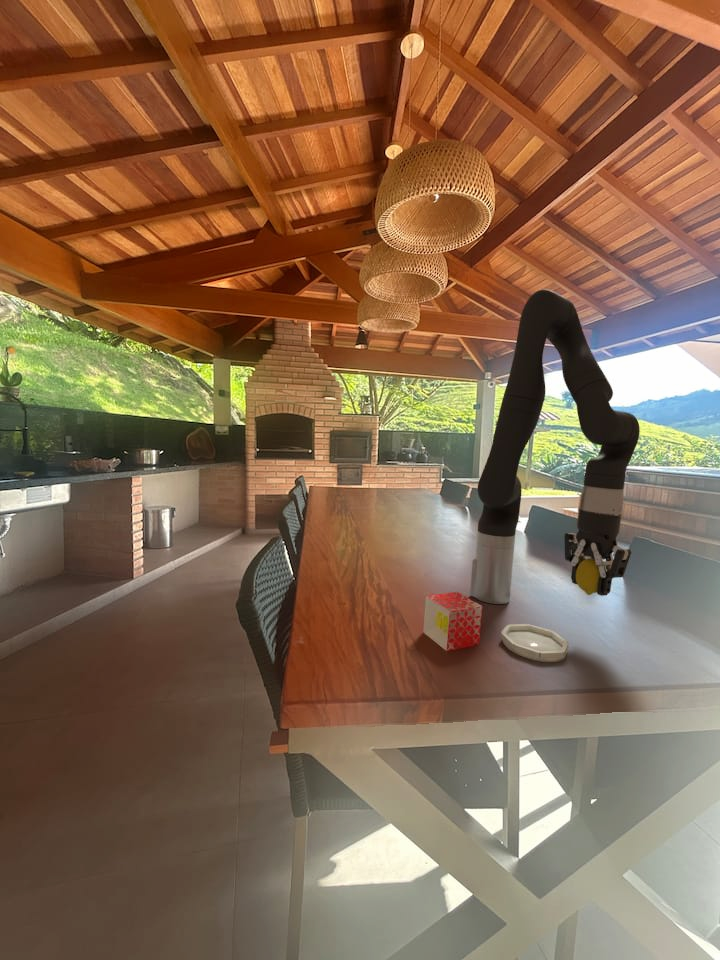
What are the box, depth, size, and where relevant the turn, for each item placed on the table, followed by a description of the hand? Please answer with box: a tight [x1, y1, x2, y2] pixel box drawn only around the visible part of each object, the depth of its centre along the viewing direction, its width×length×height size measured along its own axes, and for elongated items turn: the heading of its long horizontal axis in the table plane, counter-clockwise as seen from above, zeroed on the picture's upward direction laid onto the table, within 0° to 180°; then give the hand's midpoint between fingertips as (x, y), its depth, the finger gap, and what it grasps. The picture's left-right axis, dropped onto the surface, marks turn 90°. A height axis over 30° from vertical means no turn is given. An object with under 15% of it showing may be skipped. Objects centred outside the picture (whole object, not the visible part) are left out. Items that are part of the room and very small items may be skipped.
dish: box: [500, 623, 570, 663], centre depth 79 cm, size 12×12×2 cm
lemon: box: [576, 557, 601, 596], centre depth 83 cm, size 6×6×8 cm
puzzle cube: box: [423, 591, 483, 652], centre depth 81 cm, size 8×8×8 cm
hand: (589, 588), depth 83 cm, fingers closed on lemon, 5 cm apart
